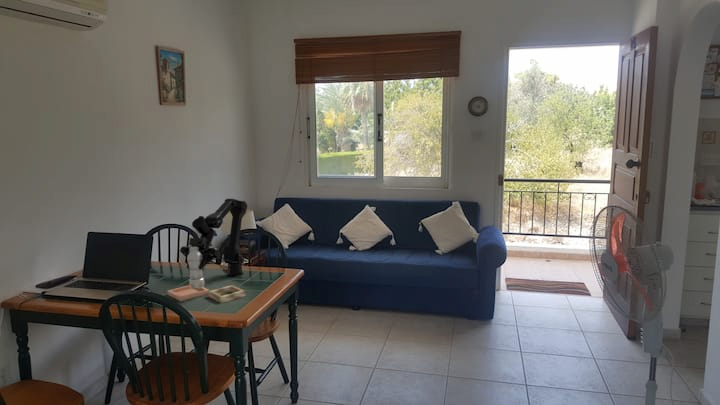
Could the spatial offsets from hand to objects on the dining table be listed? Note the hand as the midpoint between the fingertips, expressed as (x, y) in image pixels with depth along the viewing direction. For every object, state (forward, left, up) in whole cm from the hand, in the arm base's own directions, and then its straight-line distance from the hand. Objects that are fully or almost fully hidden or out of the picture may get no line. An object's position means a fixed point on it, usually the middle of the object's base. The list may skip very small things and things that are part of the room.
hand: (193, 268), depth 222 cm
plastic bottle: (-1, -1, -10) cm, 10 cm away
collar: (-10, +11, -13) cm, 20 cm away
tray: (+1, -5, -13) cm, 14 cm away
